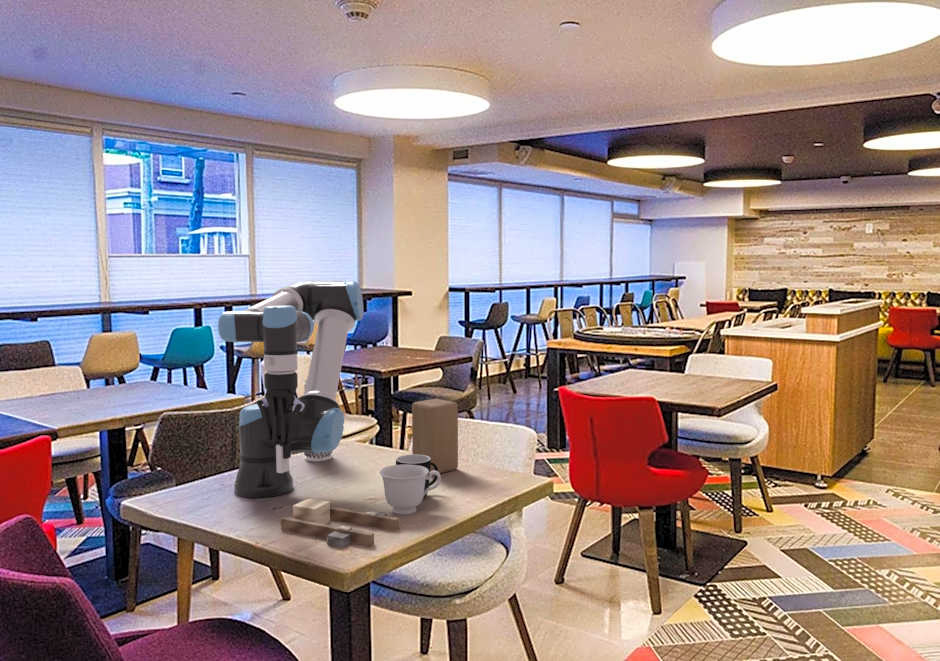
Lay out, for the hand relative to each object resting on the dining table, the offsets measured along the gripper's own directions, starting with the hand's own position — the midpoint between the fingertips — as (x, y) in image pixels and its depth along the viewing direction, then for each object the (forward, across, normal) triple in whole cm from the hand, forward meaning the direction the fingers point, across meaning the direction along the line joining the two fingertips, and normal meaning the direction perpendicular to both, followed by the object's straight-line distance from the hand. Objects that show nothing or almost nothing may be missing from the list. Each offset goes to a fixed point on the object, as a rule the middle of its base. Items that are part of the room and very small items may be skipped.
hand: (282, 471), depth 179 cm
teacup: (+12, +24, +18) cm, 32 cm away
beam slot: (+12, +16, 0) cm, 20 cm away
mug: (+12, +20, +30) cm, 37 cm away
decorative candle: (+11, -27, +50) cm, 58 cm away
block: (+11, +12, +54) cm, 56 cm away
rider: (+12, +8, 0) cm, 14 cm away
